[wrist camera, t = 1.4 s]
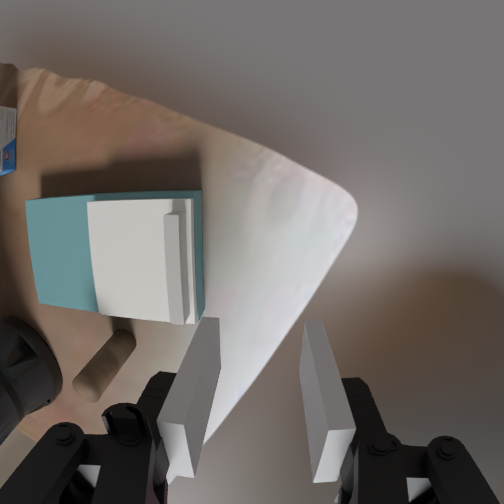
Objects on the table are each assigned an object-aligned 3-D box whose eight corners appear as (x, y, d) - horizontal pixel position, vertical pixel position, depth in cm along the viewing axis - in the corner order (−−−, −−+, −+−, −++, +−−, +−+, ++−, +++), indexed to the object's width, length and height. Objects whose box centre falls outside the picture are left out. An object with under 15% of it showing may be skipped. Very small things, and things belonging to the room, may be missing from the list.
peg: (116, 349, 33) (77, 398, 24) (111, 328, 32) (68, 374, 23) (137, 352, 33) (102, 405, 23) (134, 331, 32) (94, 381, 23)
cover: (103, 310, 28) (88, 323, 25) (92, 200, 25) (73, 204, 22) (197, 319, 28) (189, 335, 25) (193, 198, 25) (183, 201, 22)
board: (52, 294, 32) (38, 303, 29) (41, 197, 29) (24, 200, 26) (204, 308, 31) (198, 322, 28) (202, 190, 28) (194, 191, 25)
